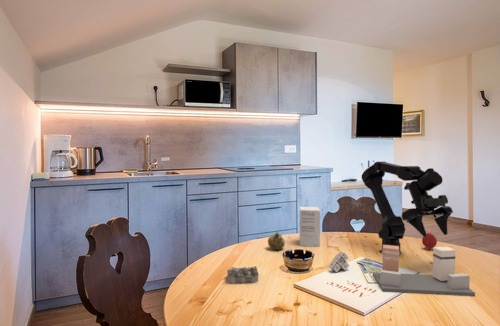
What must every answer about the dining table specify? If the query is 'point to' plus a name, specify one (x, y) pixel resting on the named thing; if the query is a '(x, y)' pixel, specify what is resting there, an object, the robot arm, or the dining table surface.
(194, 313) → the dining table surface
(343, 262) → the building blocks
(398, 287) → the grey base plate
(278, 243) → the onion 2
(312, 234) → the supplement box
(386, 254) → the salmon pink block
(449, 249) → the white tall rectangular block
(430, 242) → the onion
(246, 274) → the egg carton
